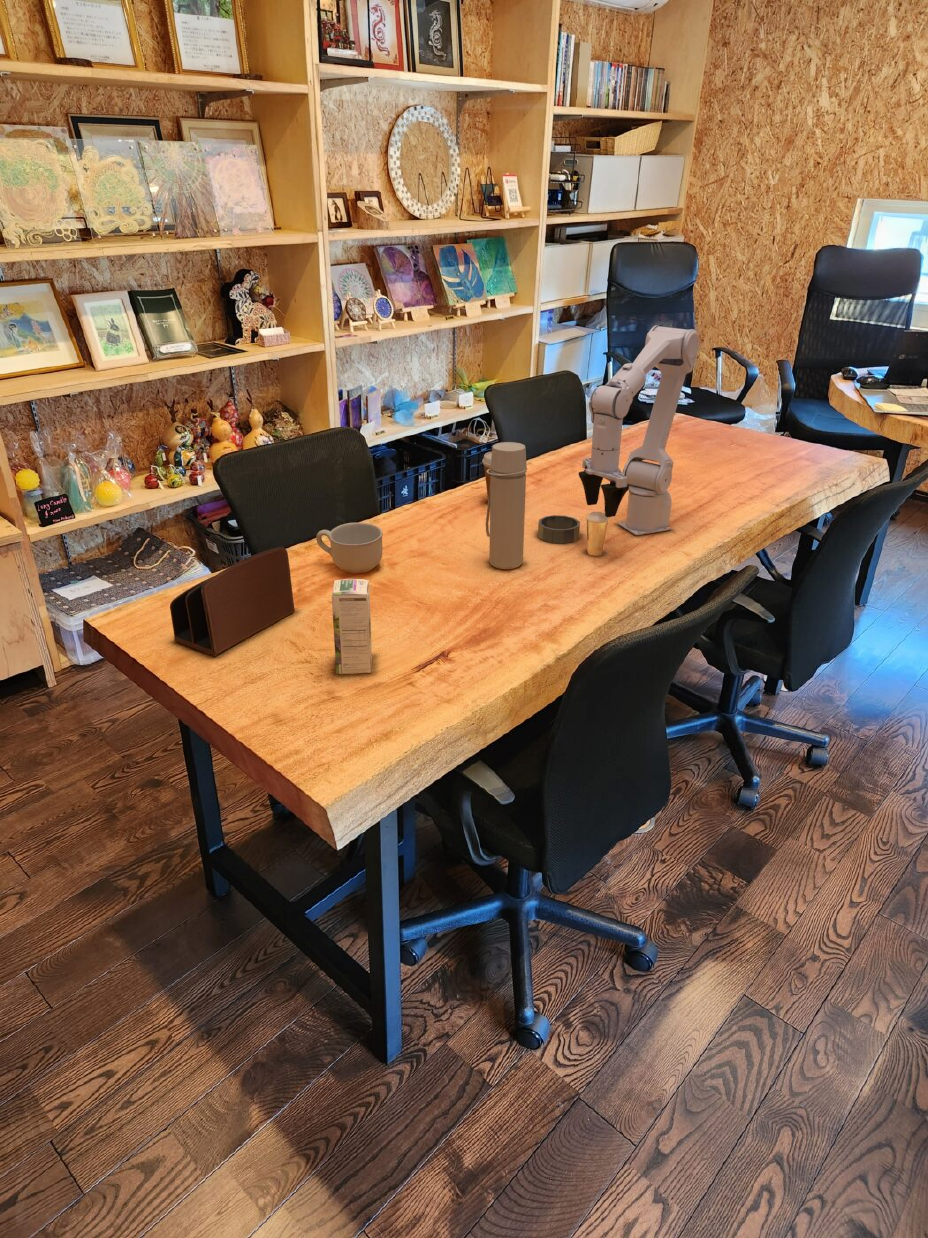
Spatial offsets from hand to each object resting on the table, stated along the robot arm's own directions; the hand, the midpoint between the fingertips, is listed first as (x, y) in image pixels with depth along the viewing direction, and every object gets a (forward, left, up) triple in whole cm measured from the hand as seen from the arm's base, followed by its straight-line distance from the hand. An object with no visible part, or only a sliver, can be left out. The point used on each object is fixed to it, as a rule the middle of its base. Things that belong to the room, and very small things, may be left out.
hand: (600, 510), depth 174 cm
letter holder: (+77, +5, -10) cm, 78 cm away
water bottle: (+21, -3, -10) cm, 24 cm away
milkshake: (0, 0, -10) cm, 10 cm away
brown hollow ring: (+3, -12, -10) cm, 15 cm away
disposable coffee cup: (+6, -37, -10) cm, 38 cm away
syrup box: (+61, +26, -10) cm, 67 cm away
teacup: (+51, -13, -10) cm, 54 cm away
